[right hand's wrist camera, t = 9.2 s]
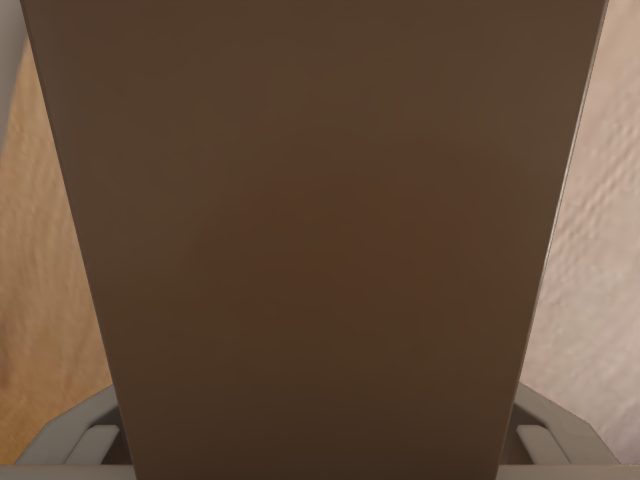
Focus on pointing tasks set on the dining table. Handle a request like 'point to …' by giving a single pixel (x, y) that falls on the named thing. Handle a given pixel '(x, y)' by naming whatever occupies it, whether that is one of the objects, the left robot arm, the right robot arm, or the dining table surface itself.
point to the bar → (315, 220)
